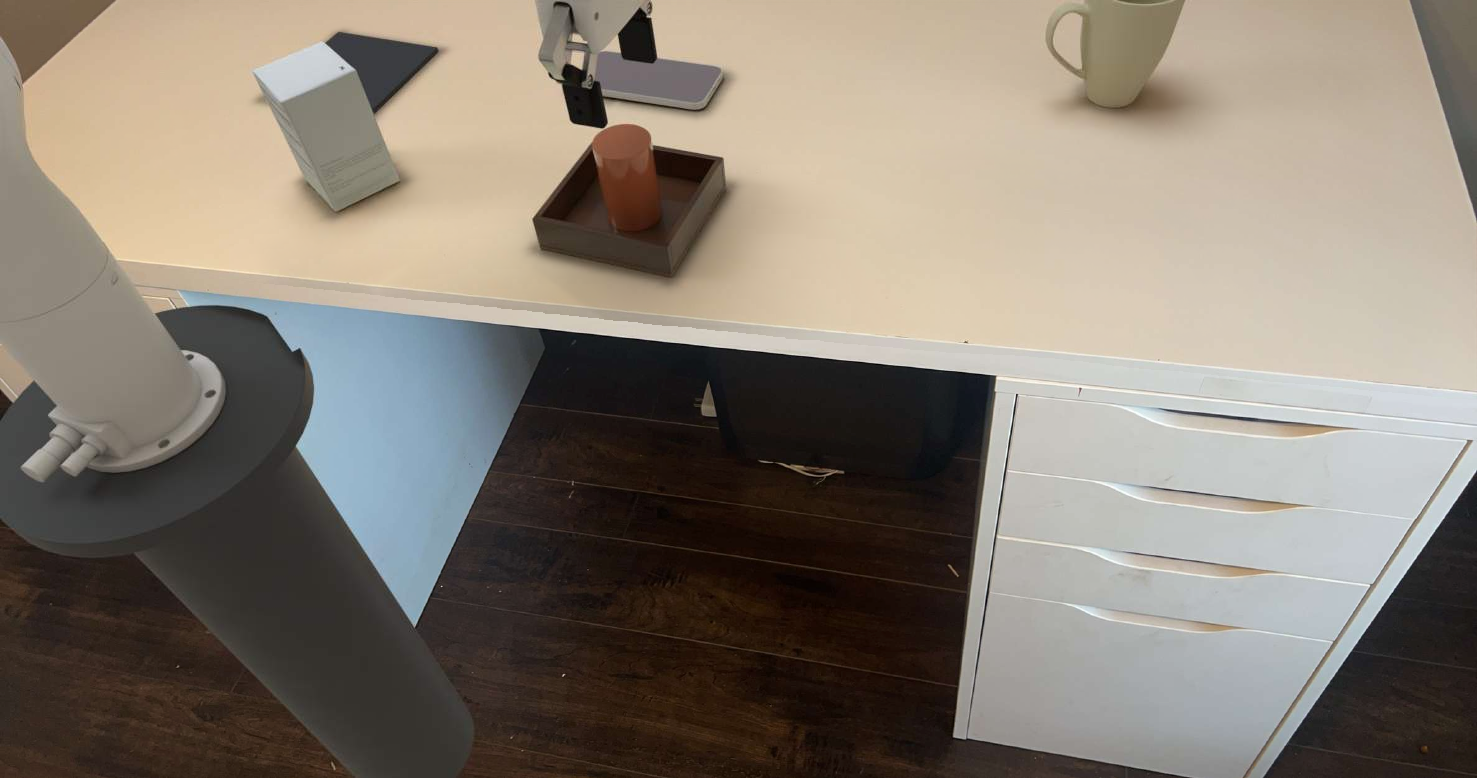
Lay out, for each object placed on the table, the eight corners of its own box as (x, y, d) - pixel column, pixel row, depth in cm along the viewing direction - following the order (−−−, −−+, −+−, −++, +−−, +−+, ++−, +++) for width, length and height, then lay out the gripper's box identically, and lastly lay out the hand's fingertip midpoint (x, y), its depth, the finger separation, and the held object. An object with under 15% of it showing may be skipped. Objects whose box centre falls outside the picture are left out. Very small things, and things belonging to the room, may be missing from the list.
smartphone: (701, 105, 103) (571, 85, 106) (702, 112, 103) (572, 92, 107) (725, 66, 107) (599, 49, 111) (726, 74, 108) (600, 56, 112)
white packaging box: (370, 150, 103) (324, 37, 93) (402, 182, 99) (357, 68, 89) (303, 180, 100) (249, 68, 90) (333, 215, 96) (279, 101, 86)
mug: (1086, 57, 105) (1110, -54, 96) (1173, 89, 101) (1208, -25, 92) (1028, 104, 101) (1048, -9, 92) (1117, 140, 96) (1148, 24, 87)
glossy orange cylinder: (648, 236, 90) (635, 163, 84) (597, 225, 92) (581, 153, 86) (671, 201, 93) (660, 128, 87) (621, 191, 95) (607, 119, 89)
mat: (369, 118, 107) (367, 114, 106) (265, 98, 111) (263, 94, 110) (438, 50, 115) (437, 47, 115) (339, 35, 119) (338, 31, 119)
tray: (671, 277, 87) (667, 247, 84) (540, 248, 91) (531, 219, 88) (726, 187, 95) (723, 157, 92) (603, 164, 99) (597, 134, 96)
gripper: (582, -174, 76) (619, 32, 89) (465, -72, 66) (526, 144, 79) (671, -167, 74) (696, 43, 87) (565, -61, 64) (611, 159, 77)
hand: (615, 91), depth 83 cm, fingers open, 9 cm apart
